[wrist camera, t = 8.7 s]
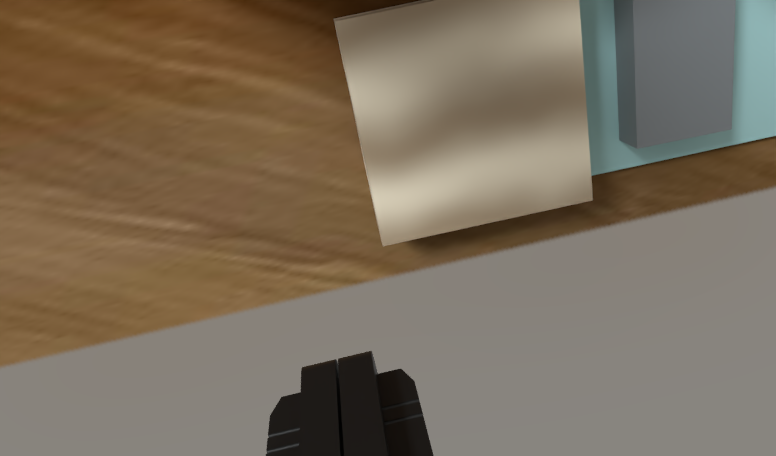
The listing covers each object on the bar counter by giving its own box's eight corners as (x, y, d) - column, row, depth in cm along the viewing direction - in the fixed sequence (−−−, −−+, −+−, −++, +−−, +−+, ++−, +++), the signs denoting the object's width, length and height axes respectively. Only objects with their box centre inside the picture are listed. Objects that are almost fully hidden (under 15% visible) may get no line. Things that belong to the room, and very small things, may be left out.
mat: (558, -32, 36) (560, -33, 35) (787, -80, 36) (792, -81, 36) (575, 177, 40) (577, 178, 40) (777, 133, 41) (781, 134, 40)
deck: (333, 18, 35) (334, 21, 32) (550, -27, 36) (577, -29, 32) (377, 223, 40) (382, 246, 36) (568, 181, 40) (592, 200, 37)
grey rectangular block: (736, -28, 34) (710, -26, 36) (632, -7, 34) (613, -7, 36) (731, 129, 37) (708, 121, 39) (637, 148, 37) (619, 140, 39)
